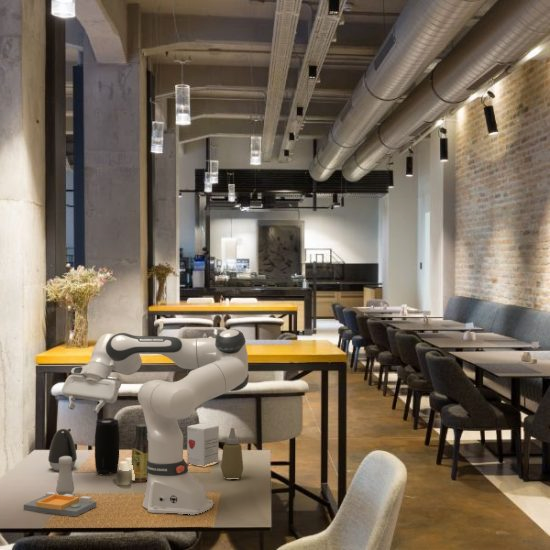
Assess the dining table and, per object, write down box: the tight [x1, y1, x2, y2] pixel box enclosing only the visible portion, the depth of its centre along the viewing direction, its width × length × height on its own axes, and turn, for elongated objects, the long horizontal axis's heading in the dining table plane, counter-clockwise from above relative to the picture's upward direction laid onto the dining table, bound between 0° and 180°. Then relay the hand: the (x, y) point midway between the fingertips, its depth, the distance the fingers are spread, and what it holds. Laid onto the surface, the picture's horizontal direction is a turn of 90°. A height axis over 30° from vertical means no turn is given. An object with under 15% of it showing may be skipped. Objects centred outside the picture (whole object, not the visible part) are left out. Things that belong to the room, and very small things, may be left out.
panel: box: [23, 491, 97, 518], centre depth 237 cm, size 19×11×3 cm, turn 70°
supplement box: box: [186, 422, 220, 466], centre depth 295 cm, size 9×9×15 cm
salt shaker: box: [55, 456, 75, 495], centre depth 250 cm, size 6×6×13 cm
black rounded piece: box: [47, 428, 78, 472], centre depth 285 cm, size 10×10×15 cm
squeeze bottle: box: [220, 427, 244, 478], centre depth 274 cm, size 8×8×18 cm
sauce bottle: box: [131, 423, 148, 483], centre depth 270 cm, size 7×6×20 cm
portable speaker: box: [94, 417, 120, 476], centre depth 281 cm, size 9×9×20 cm
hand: (83, 410), depth 264 cm, fingers open, 8 cm apart
